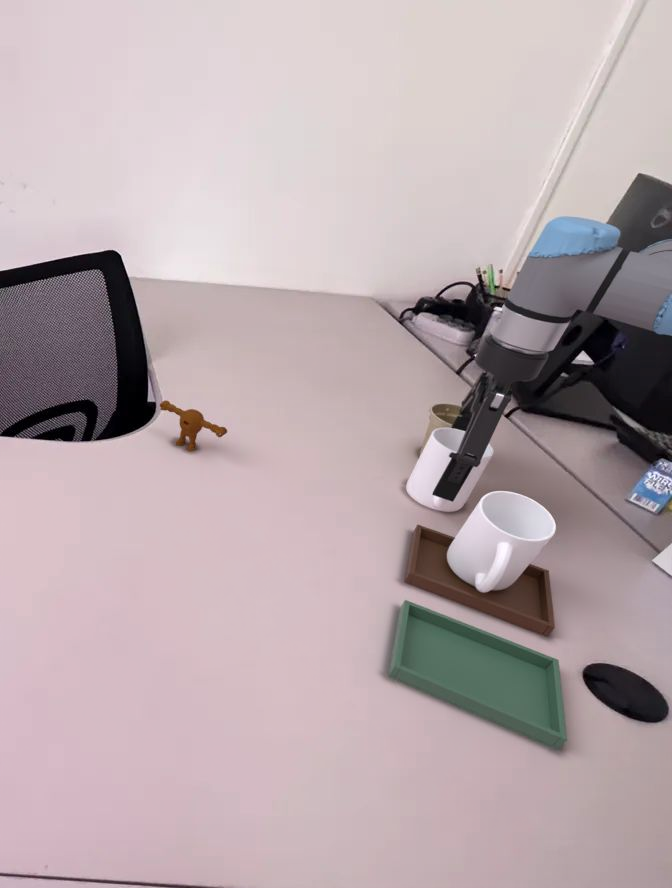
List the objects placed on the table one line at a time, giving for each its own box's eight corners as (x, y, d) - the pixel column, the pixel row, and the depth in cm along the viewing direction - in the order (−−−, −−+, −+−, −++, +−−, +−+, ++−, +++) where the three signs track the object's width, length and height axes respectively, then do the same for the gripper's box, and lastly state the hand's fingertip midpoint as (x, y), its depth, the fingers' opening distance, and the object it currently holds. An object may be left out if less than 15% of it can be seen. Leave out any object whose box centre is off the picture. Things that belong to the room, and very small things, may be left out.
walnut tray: (541, 581, 90) (548, 570, 89) (546, 639, 81) (555, 627, 80) (411, 535, 96) (417, 524, 95) (403, 584, 87) (409, 572, 86)
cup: (462, 493, 106) (492, 438, 100) (462, 533, 97) (496, 476, 91) (405, 475, 109) (432, 421, 103) (401, 513, 100) (430, 456, 94)
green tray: (549, 671, 77) (558, 659, 76) (556, 752, 68) (567, 740, 67) (398, 611, 83) (405, 599, 82) (387, 677, 74) (394, 666, 73)
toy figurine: (148, 436, 112) (156, 400, 108) (161, 428, 114) (169, 393, 111) (210, 467, 106) (221, 430, 102) (222, 459, 108) (233, 422, 104)
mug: (506, 624, 83) (550, 573, 76) (433, 594, 86) (470, 542, 79) (517, 559, 90) (559, 507, 83) (450, 534, 93) (484, 481, 86)
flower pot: (396, 448, 116) (417, 404, 111) (438, 443, 119) (460, 400, 114) (437, 479, 109) (462, 433, 104) (481, 473, 112) (507, 428, 107)
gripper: (487, 309, 99) (424, 432, 111) (486, 366, 80) (410, 506, 93) (545, 323, 96) (474, 448, 108) (558, 386, 78) (470, 527, 90)
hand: (445, 475), depth 100 cm, fingers open, 13 cm apart
